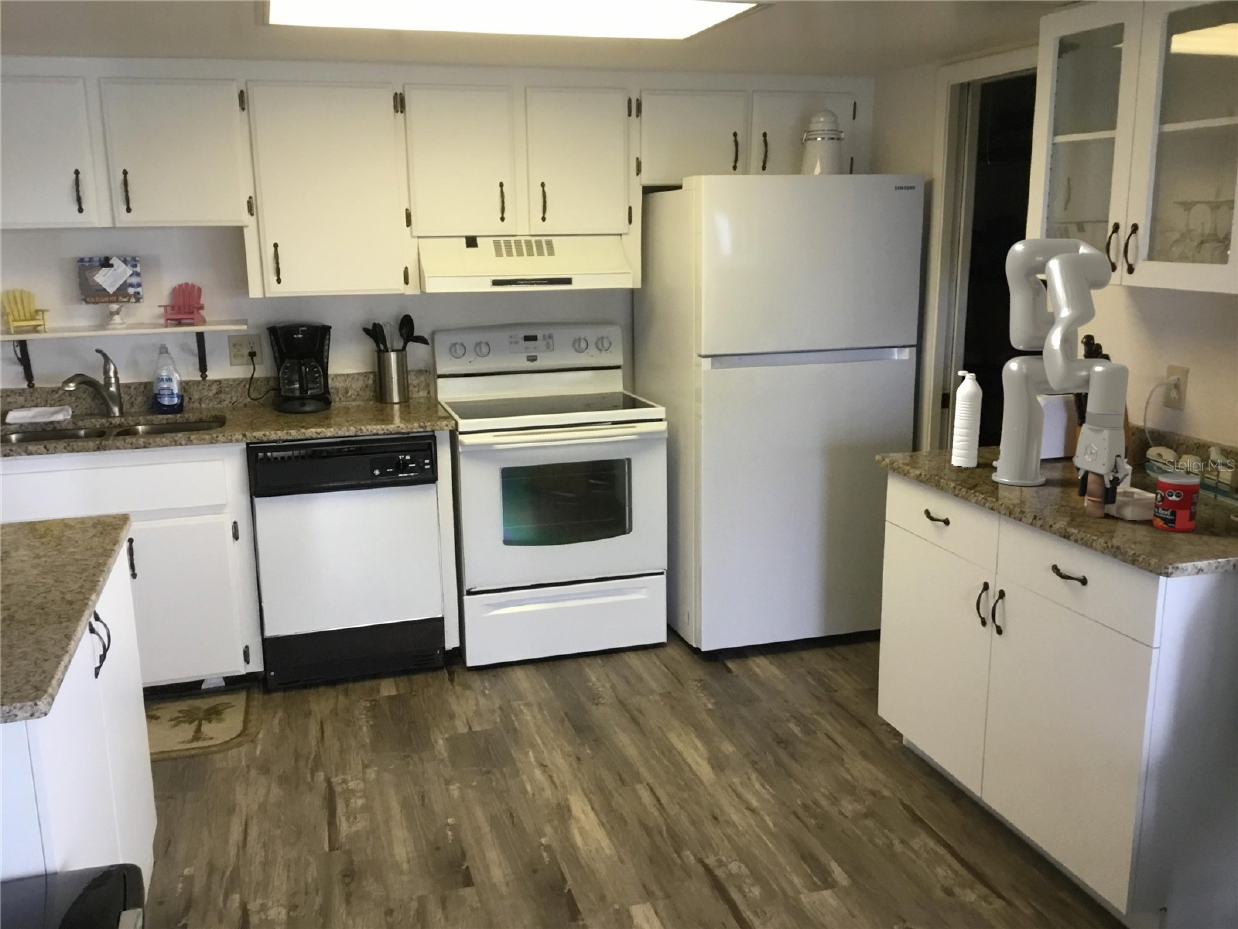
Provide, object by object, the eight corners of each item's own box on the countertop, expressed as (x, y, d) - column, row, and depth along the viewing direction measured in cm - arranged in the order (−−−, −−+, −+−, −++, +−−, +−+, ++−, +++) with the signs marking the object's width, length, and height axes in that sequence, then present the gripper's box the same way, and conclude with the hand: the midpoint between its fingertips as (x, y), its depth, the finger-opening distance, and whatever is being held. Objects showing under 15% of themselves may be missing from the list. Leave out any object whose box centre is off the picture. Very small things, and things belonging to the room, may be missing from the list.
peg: (1079, 513, 230) (1083, 470, 228) (1095, 512, 231) (1100, 468, 229) (1093, 518, 226) (1098, 474, 223) (1110, 517, 227) (1115, 473, 225)
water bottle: (981, 467, 276) (988, 374, 271) (958, 468, 275) (965, 375, 270) (965, 460, 284) (972, 370, 279) (943, 461, 283) (949, 371, 278)
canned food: (1144, 523, 222) (1150, 473, 220) (1180, 522, 223) (1186, 472, 221) (1165, 533, 215) (1171, 481, 213) (1202, 532, 216) (1208, 481, 213)
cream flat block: (1084, 505, 237) (1086, 488, 236) (1123, 502, 240) (1125, 485, 239) (1129, 521, 224) (1131, 503, 223) (1170, 517, 227) (1172, 499, 226)
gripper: (1062, 414, 231) (1055, 492, 235) (1119, 428, 215) (1110, 511, 218) (1090, 413, 233) (1082, 489, 237) (1149, 426, 217) (1139, 508, 220)
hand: (1096, 499), depth 228 cm, fingers open, 6 cm apart
